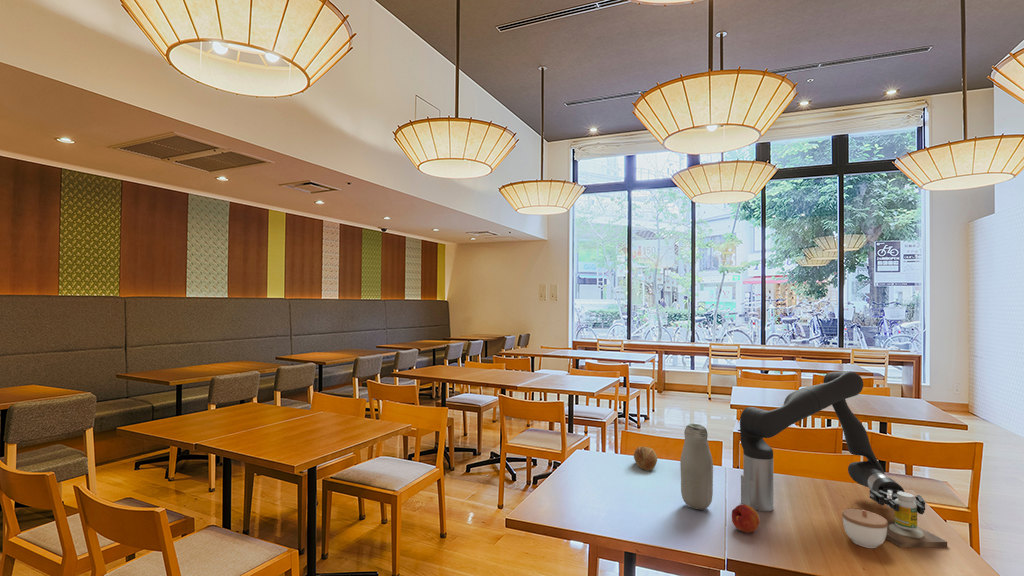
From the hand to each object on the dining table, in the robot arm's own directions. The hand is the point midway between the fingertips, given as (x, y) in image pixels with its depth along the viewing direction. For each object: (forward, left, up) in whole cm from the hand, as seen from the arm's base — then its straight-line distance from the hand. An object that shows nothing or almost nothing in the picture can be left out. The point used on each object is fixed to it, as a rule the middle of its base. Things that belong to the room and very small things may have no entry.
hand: (909, 509), depth 142 cm
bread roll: (-59, +64, -9) cm, 88 cm away
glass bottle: (-54, +23, -9) cm, 60 cm away
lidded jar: (-15, -1, -9) cm, 17 cm away
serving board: (+1, +3, -9) cm, 10 cm away
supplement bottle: (+1, +2, -6) cm, 7 cm away
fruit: (-46, +6, -9) cm, 47 cm away
